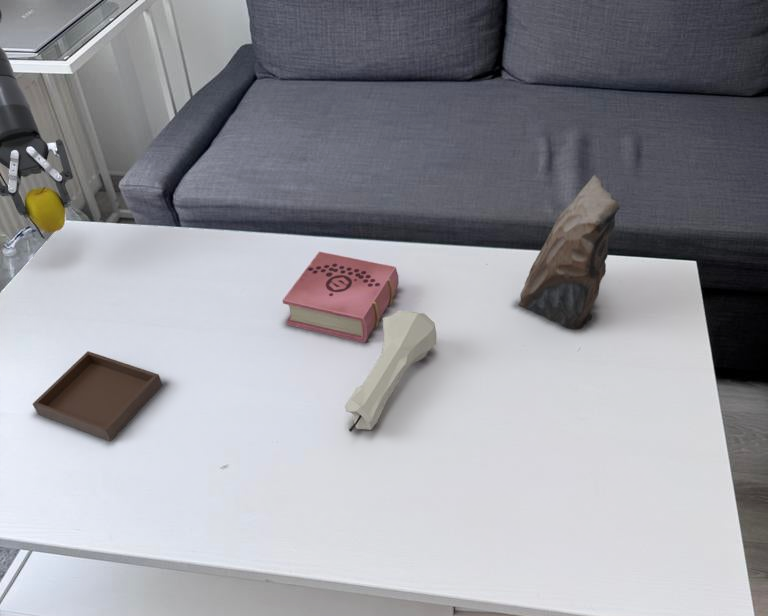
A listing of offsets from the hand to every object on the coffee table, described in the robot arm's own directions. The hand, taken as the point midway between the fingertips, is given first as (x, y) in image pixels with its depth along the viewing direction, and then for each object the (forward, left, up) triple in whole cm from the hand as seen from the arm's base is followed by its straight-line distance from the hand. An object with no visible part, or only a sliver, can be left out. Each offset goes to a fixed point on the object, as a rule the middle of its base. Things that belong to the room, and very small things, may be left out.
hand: (46, 210), depth 130 cm
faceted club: (+68, -6, -12) cm, 69 cm away
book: (+53, +9, -12) cm, 55 cm away
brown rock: (+86, +24, -12) cm, 90 cm away
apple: (-1, +1, -5) cm, 5 cm away
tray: (+28, -26, -12) cm, 40 cm away
